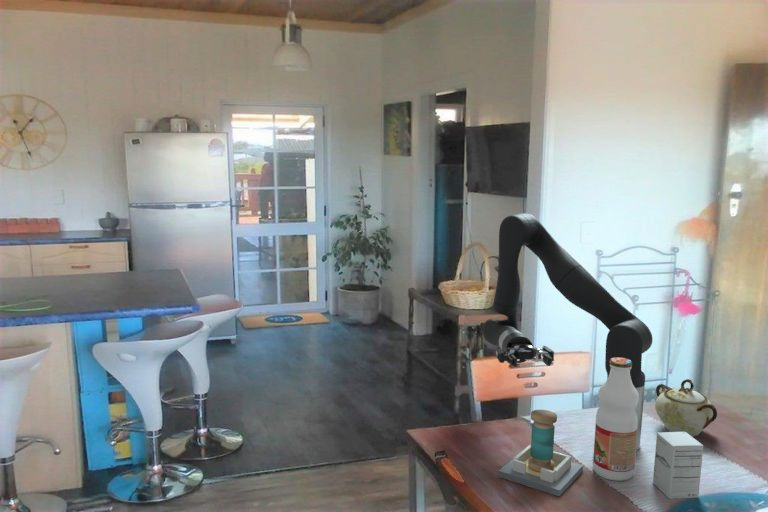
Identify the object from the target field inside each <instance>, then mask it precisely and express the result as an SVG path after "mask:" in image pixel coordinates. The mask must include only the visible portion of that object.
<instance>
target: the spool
mask: <svg viewBox="0 0 768 512" xmlns="http://www.w3.org/2000/svg"><path fill="white" fill-rule="evenodd" d="M530 419H531V420H532V424H531V435H530V436H531V437H530V438H531V439H530V445H531V456H532V457H531V458H530V459H529V460H528V466H529V468H530V469H532V470H534V471H537V472H540V470H541V468H545V469H549V470H552V471H553V470H554V462H553V461H552V460H551V459H552V458H553V451H554V448H555V446H554V443H555V423H557V421H558V414H557V413H556V412H554V411H551V410H547V409H535V410H532V411H531V412H530Z"/></svg>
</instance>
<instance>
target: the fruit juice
mask: <svg viewBox="0 0 768 512" xmlns="http://www.w3.org/2000/svg"><path fill="white" fill-rule="evenodd" d="M610 367H611V370H610V374H609V377H608V379H607V378H606V381H605V382H603V384H601V386H600V387H599V389H598V394H597V398H598V402H599V407H598V409H597V411H596V415H595V430H594V439H593V440H594V443H593V457H592V458H593V459H592V468H593V472H595V474H596V475H598V476H599V477H602V478H603V479H607V480H610V481H617V482H621V481H628V480H630V479H632V478H633V476H634V473H635V466H636V464H635V463H636V451H637V450H636V441H637V428H638V417H637V413H636V408H637V406H638V403H639V394H638V392H637V390H636V388H635V387H634V385H633V383H632V380H631V376H630V369H631V368H632V361H631V360H629V359H626V358H619V357H616V358H611V359H610Z"/></svg>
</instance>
